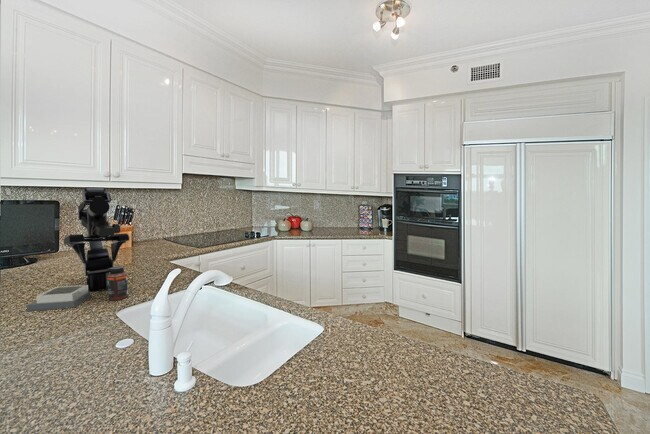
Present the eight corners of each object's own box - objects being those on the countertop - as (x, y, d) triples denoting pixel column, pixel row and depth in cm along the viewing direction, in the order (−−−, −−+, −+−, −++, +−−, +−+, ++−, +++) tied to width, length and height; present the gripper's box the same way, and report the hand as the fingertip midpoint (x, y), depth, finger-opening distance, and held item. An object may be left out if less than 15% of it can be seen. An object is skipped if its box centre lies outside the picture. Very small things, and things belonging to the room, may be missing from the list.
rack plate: (91, 296, 111) (90, 284, 111) (74, 307, 100) (73, 294, 100) (49, 299, 108) (48, 287, 108) (27, 311, 97) (25, 297, 97)
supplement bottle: (132, 295, 112) (130, 265, 111) (120, 301, 106) (118, 269, 105) (117, 294, 113) (115, 265, 112) (104, 300, 107) (102, 269, 106)
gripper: (75, 215, 100) (77, 262, 98) (135, 216, 116) (138, 257, 114) (62, 221, 106) (64, 266, 104) (121, 222, 121) (123, 260, 119)
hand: (99, 262), depth 110 cm, fingers open, 9 cm apart
